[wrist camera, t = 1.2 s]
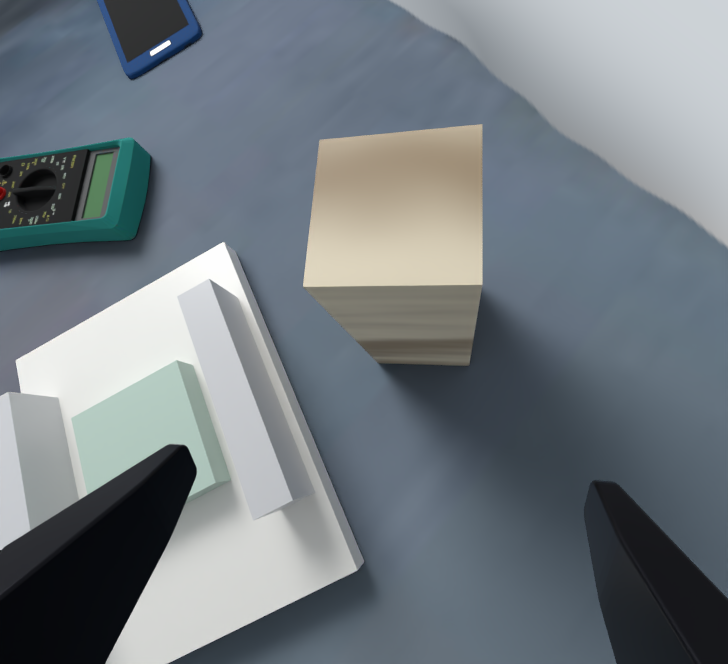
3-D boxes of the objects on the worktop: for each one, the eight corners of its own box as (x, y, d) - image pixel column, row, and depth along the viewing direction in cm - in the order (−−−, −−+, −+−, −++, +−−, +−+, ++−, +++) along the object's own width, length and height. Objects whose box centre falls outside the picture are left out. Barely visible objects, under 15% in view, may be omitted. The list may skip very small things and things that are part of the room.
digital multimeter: (6, 177, 35) (-33, 154, 32) (158, 156, 32) (129, 129, 29) (-16, 257, 33) (-59, 240, 30) (143, 243, 30) (111, 223, 27)
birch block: (469, 365, 22) (482, 284, 11) (377, 363, 23) (302, 286, 12) (469, 279, 23) (482, 124, 12) (383, 280, 24) (319, 139, 13)
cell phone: (132, 86, 34) (125, 78, 33) (96, -9, 39) (89, -18, 38) (207, 40, 34) (201, 31, 33) (161, -51, 38) (155, -61, 37)
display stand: (364, 561, 21) (340, 592, 16) (100, 691, 22) (14, 751, 18) (235, 252, 27) (195, 217, 23) (37, 364, 28) (-37, 350, 24)
